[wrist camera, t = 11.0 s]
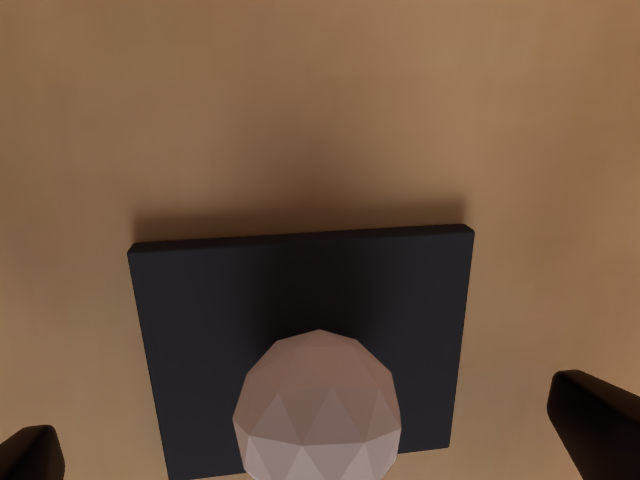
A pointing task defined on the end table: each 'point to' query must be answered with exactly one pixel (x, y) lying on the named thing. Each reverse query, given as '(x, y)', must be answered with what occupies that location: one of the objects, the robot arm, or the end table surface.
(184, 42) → the end table surface
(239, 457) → the mat
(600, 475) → the robot arm
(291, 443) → the polyhedron
